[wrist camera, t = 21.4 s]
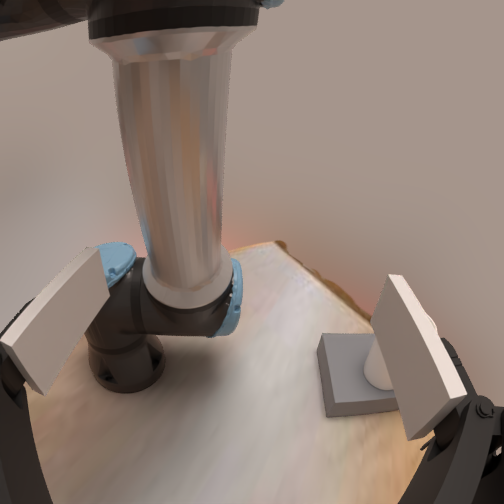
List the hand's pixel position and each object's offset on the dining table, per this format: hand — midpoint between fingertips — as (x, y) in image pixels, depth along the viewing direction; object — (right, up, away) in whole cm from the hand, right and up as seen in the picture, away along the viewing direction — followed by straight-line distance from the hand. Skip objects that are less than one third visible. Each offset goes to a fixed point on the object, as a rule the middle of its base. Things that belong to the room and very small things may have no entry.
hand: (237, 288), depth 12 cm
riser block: (+21, -23, +34) cm, 47 cm away
